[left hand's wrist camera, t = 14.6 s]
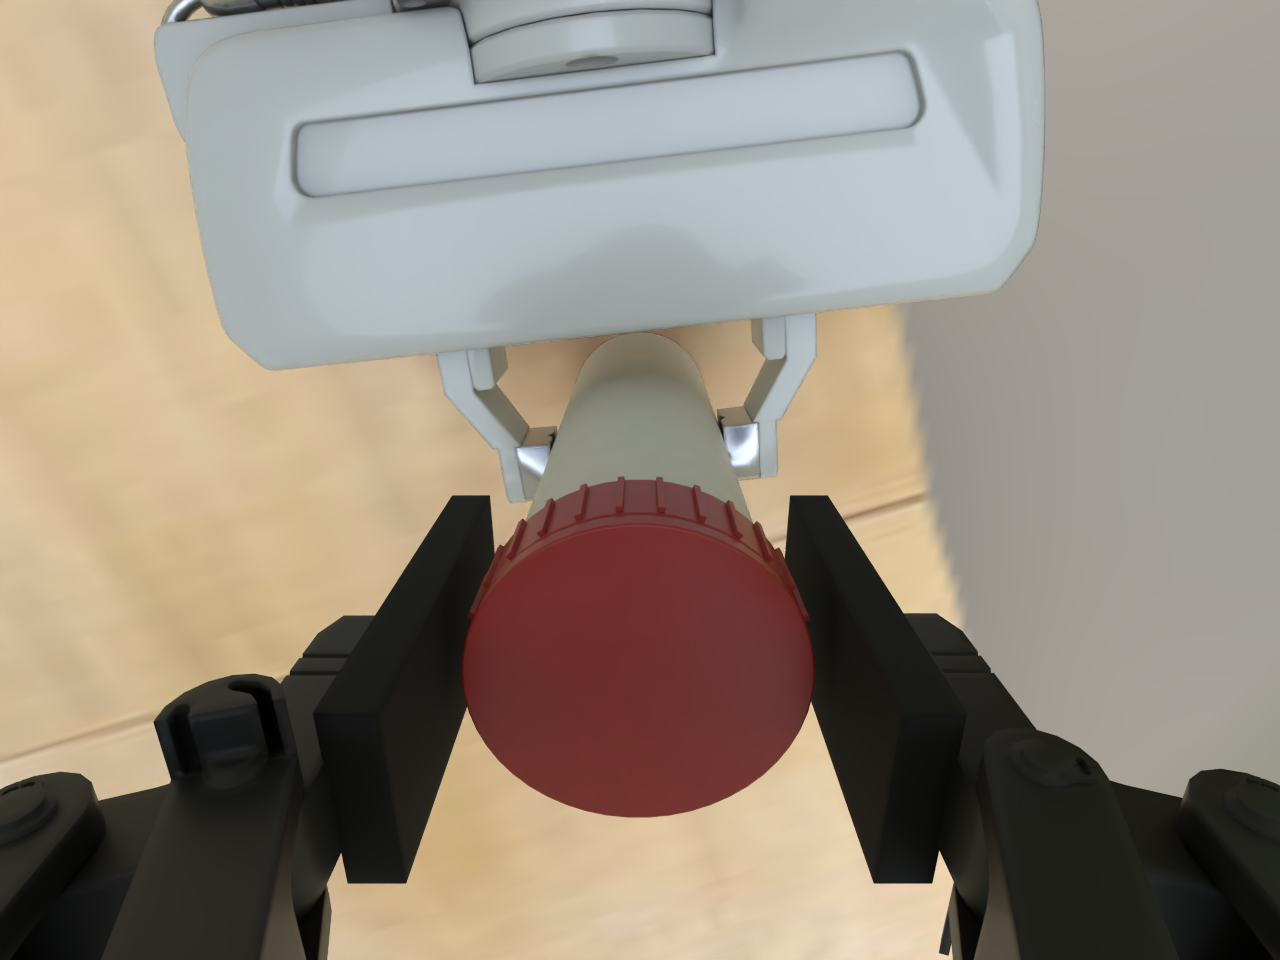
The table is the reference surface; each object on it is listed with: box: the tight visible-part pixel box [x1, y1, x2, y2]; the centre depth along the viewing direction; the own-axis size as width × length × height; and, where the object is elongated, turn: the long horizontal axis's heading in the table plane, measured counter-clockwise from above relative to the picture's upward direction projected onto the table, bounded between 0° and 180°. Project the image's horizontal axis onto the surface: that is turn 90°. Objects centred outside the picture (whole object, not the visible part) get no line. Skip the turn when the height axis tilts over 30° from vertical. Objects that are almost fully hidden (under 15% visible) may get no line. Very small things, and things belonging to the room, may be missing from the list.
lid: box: [461, 476, 815, 817], centre depth 12 cm, size 6×6×2 cm
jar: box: [526, 332, 753, 523], centre depth 19 cm, size 5×5×17 cm
